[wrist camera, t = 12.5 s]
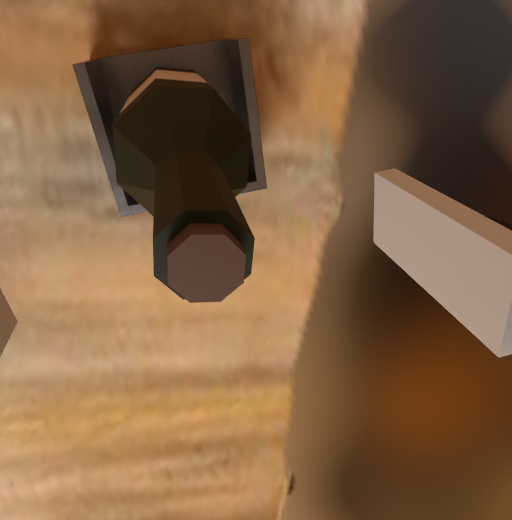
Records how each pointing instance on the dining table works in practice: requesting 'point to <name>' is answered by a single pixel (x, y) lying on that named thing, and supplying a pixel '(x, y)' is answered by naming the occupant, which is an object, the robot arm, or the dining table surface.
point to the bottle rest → (182, 57)
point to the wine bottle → (187, 181)
